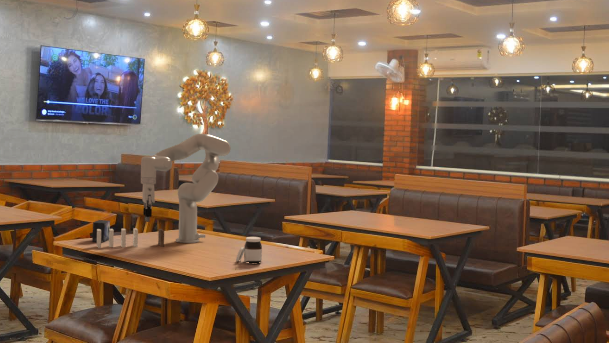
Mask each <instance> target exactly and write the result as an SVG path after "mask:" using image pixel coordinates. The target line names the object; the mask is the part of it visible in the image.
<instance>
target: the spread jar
mask: <svg viewBox="0 0 609 343" xmlns="http://www.w3.org/2000/svg"><path fill="white" fill-rule="evenodd" d="M261 240H262V239H261V237H258V236H247V237H246V238H245V243H244V247H242V246H241V247H240V249H239V250H238V253H237V255H236V258H235V261H236V262H238V261H239V260H240V261H241V260H242V258H243V261H244V263H245V262H249V263H259V262H261V263H262V260H263V259H262V256H263V254H262V253H263V248H262V247H263V246H262V243H261ZM240 261H239V262H240Z"/></svg>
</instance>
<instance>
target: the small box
mask: <svg viewBox="0 0 609 343" xmlns="http://www.w3.org/2000/svg"><path fill="white" fill-rule="evenodd" d="M110 223H111V220H106V219H105V220H104V219H98V220H95V221H94V222H92V239H91V241H92V243H97V229H100V230H101V243H106V242H107V241H109V229H111V228H110V227H111V225H110Z"/></svg>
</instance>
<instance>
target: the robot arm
mask: <svg viewBox="0 0 609 343" xmlns="http://www.w3.org/2000/svg"><path fill="white" fill-rule="evenodd" d="M201 150H204V153H205V154H204V155H205V157H204V161H202V163H201V164H200V165H199V167H198V168H196V170H195V171H194V173H193V174H192V176H191V181H192V182H184V183H182V184H181V185H179V187H178V190H177V198H178V208H179V212H178V237H177V238H175V242H177V243H181V244H195V243H199V242H200V238H201V239H203V238H204V239H205V238H206V234H205V233H204V234H203V233H202V234H201V233H198V232H197V230H198V229H197V228H198V206H197V203H201V202H203V201H204V200H206V198H208V197H209V195H210V194H211V193H212V191H213V190H214V189H215V187H216V186H217V185H218V182H219V174H218V172H217V170H218V168H219V165H220V158H219V157H225V156H228V155H229V153H230V152H231V145H230V143H229V142H228V141H227V140H224V139H222V138H219V137H217V136H214V135H211V134H207V133H196V134H193V135H192V136H190V137H188V138H186V139H185V140H183V141H181V142H180V143H178V144H175V145H173V146H170V147H168V148H165V149H162V150H160V151H158V152H156V153H155V154H153V155H151V156H142V157H141V162H140V166H141V167H140V184H142V202H143V208H142V209H143V216H144V218H145V217H150V218H151V217H152V214H153V212H152V211H153V210H152V207H153V206H152V205H153V204H155V202H156V200H155V198H156V197H155V185H156V184H157V171H161V172H166V171H170V170H171V169H172V167H173V161H181V160H185V159H188V158H189V157H190V156H192V155H194V154H196V153H197V152H199V151H201ZM145 204H146V209H145ZM147 204H148V205H147Z"/></svg>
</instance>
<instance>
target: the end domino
mask: <svg viewBox="0 0 609 343" xmlns="http://www.w3.org/2000/svg"><path fill="white" fill-rule="evenodd" d="M147 205H148V204H147ZM145 209H146V204H145ZM150 218H151V217H145V216H144V222H146V223H147V222H148V223H150V221H151V220H150Z"/></svg>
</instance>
